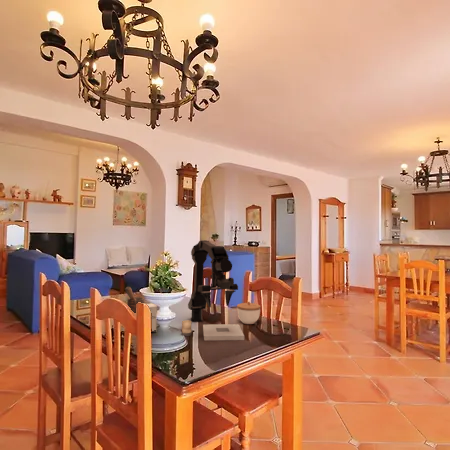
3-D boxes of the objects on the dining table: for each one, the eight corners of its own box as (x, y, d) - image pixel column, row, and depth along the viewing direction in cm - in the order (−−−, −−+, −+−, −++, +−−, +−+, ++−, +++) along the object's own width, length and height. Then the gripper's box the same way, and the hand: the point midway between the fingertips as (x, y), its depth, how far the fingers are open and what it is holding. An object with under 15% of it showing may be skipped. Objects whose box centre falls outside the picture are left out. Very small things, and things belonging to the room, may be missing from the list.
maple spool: (181, 333, 154) (182, 320, 155) (191, 332, 155) (191, 320, 155) (181, 335, 150) (181, 322, 150) (191, 335, 150) (191, 322, 151)
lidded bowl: (248, 327, 167) (249, 305, 167) (232, 321, 176) (232, 301, 176) (265, 323, 175) (265, 302, 175) (248, 318, 184) (248, 298, 185)
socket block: (202, 328, 162) (203, 324, 162) (238, 328, 164) (238, 324, 164) (204, 340, 144) (204, 335, 144) (244, 340, 146) (244, 335, 146)
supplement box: (140, 334, 151) (141, 307, 151) (137, 330, 157) (138, 304, 157) (156, 332, 154) (157, 306, 154) (152, 328, 160) (153, 302, 161)
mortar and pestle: (138, 328, 161) (139, 287, 161) (121, 327, 161) (122, 287, 162) (145, 321, 172) (147, 284, 173) (130, 321, 173) (131, 283, 173)
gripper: (207, 272, 141) (208, 309, 139) (243, 271, 150) (245, 306, 148) (196, 273, 151) (197, 307, 148) (231, 272, 160) (232, 304, 157)
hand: (218, 306), depth 150 cm, fingers open, 9 cm apart
